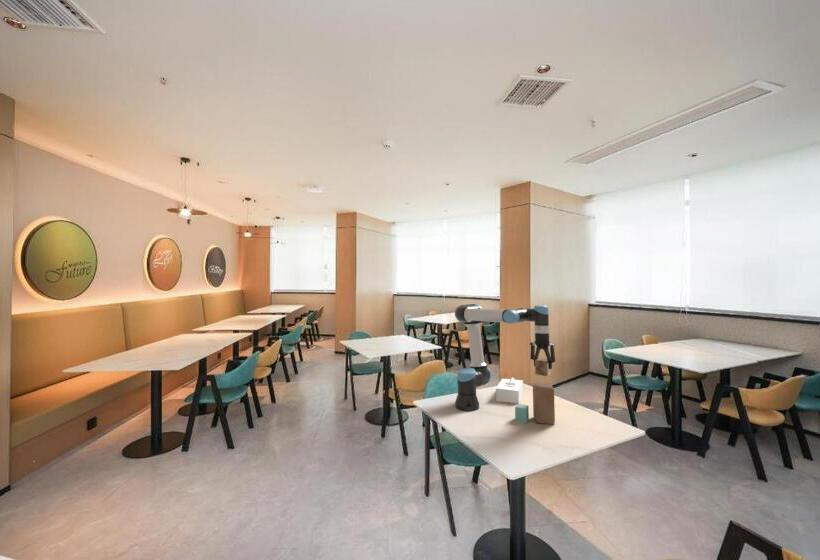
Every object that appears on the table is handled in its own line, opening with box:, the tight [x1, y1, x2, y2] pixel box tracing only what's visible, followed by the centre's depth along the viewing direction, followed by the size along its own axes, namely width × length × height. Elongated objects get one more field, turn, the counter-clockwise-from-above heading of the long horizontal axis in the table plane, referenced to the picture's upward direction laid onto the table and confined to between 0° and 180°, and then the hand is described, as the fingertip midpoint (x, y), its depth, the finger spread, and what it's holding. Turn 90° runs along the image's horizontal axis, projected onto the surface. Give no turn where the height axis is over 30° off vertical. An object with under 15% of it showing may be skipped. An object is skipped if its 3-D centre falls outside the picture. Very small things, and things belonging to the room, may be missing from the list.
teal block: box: [514, 403, 530, 424], centre depth 188 cm, size 6×6×8 cm
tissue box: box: [495, 377, 524, 404], centre depth 228 cm, size 14×25×11 cm, turn 155°
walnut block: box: [534, 357, 551, 377], centre depth 188 cm, size 6×6×8 cm
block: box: [532, 382, 556, 425], centre depth 187 cm, size 10×10×20 cm
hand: (543, 373), depth 188 cm, fingers closed on walnut block, 6 cm apart
